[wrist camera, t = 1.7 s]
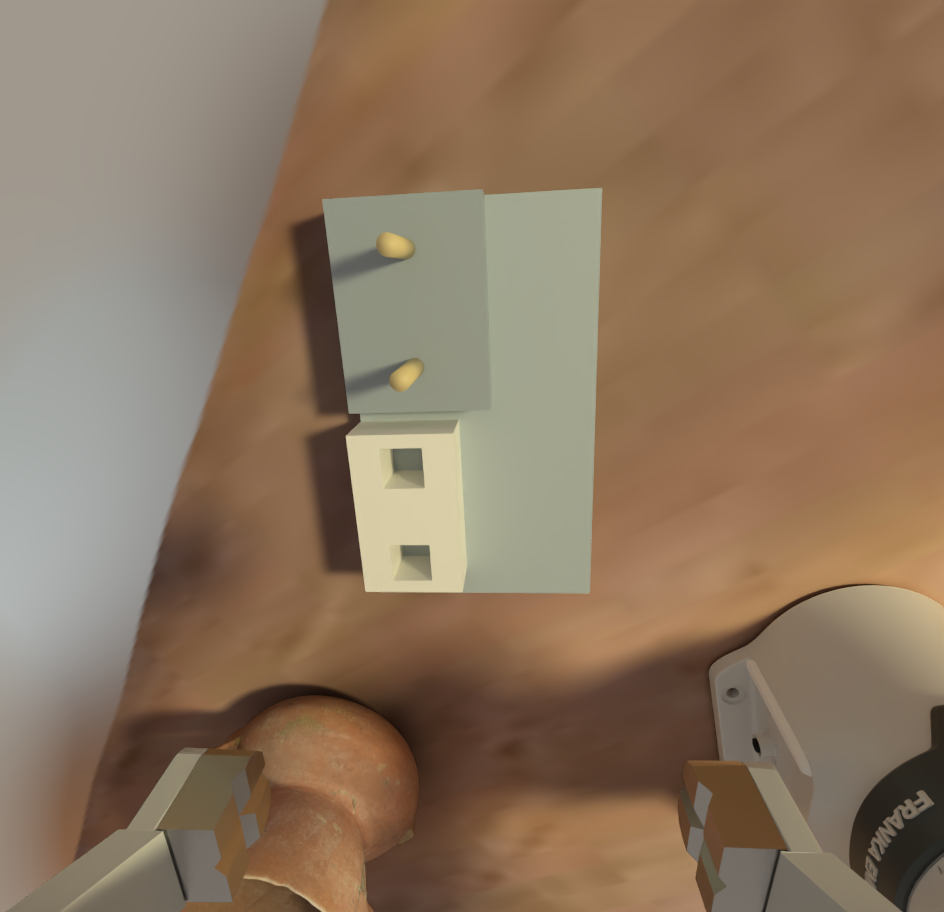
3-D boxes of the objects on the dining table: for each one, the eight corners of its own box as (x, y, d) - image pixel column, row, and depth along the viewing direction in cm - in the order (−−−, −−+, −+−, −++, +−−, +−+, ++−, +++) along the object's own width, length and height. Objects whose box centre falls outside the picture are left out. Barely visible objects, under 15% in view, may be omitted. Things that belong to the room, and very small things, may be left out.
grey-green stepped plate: (587, 583, 36) (604, 655, 29) (384, 582, 37) (355, 651, 30) (598, 191, 28) (624, 164, 21) (342, 207, 29) (289, 186, 23)
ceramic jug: (474, 746, 41) (451, 969, 28) (380, 847, 46) (320, 1082, 32) (277, 624, 39) (149, 800, 26) (198, 742, 44) (54, 944, 30)
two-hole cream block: (466, 566, 35) (462, 592, 32) (377, 566, 35) (365, 591, 32) (458, 419, 32) (453, 433, 29) (360, 421, 32) (345, 435, 29)
